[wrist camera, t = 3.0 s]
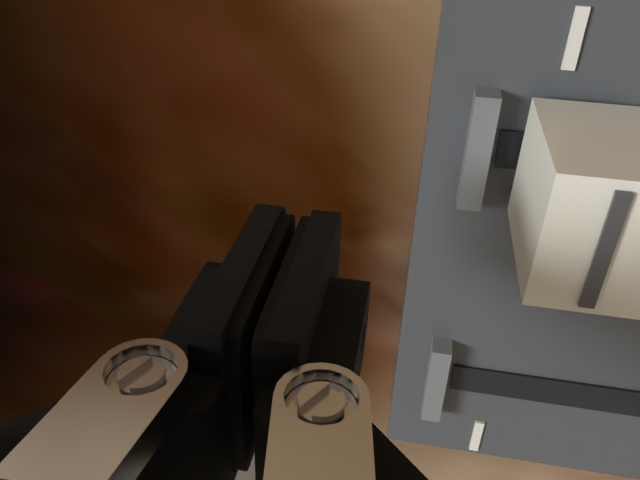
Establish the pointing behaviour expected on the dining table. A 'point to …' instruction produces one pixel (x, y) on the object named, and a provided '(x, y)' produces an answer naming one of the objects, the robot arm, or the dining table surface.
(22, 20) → the dining table surface
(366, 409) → the robot arm
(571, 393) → the console
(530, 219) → the fader
